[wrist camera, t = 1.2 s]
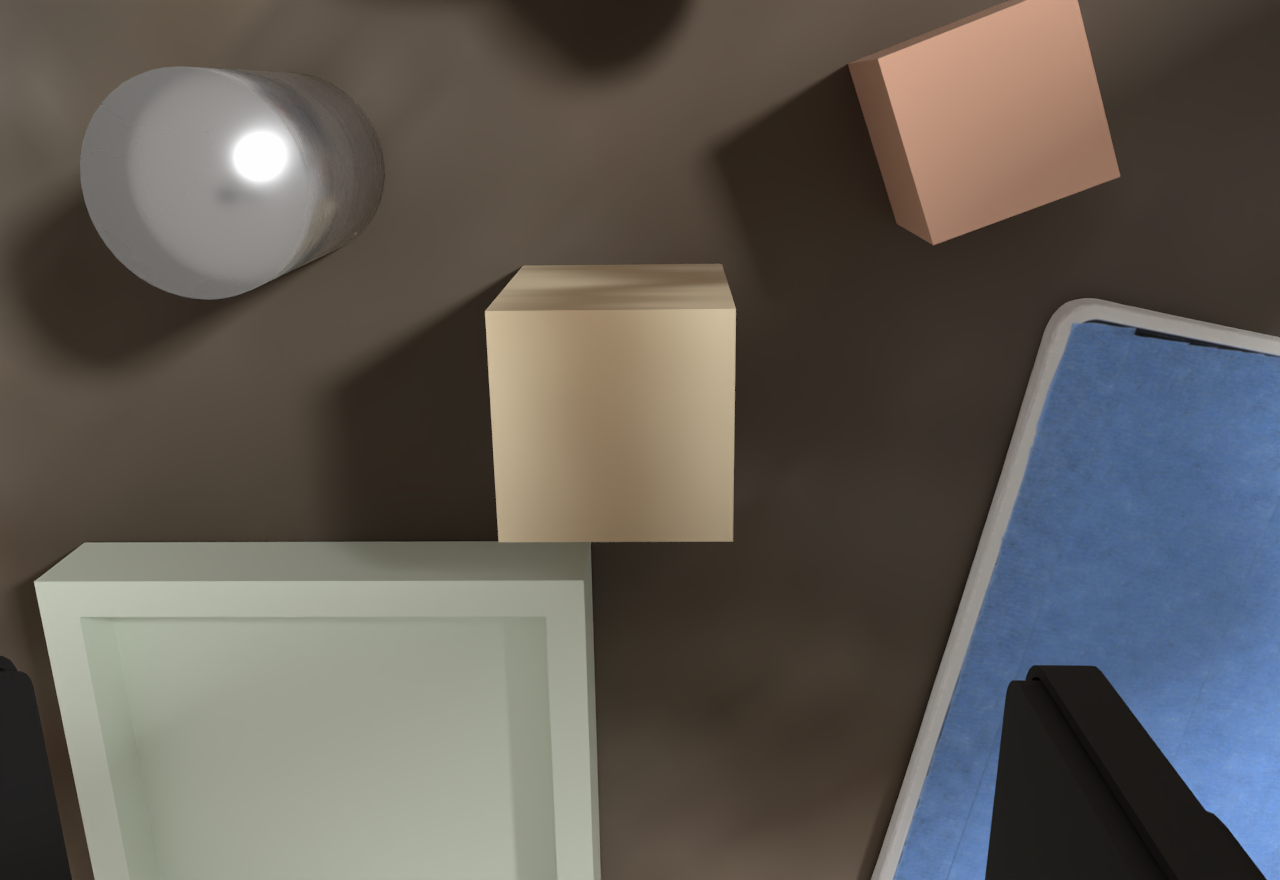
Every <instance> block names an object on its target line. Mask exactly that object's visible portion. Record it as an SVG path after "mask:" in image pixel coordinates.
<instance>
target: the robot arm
mask: <svg viewBox="0 0 1280 880" xmlns="http://www.w3.org/2000/svg"><path fill="white" fill-rule="evenodd" d="M0 880H72V878H71V873H70V868H69V863H68V858H67V853H66V848H65V843H64V838H63V833H62V828H61V823H60V818H59V813H58V808H57V803H56V798H55V793H54V788H53V783H52V778H51V773H50V768H49V763H48V758H47V753H46V748H45V743H44V738H43V733H42V728H41V723H40V718H39V713H38V708H37V703H36V698H35V693H34V688H33V685H32V682H31V679H30V678H29V677H28V675H27V674H25V673H23V672H21V671H17V670H16V667H15V666H14V665H13V663H12V662H11V661H10V660H9V659H7V658H5V657H3V656H0ZM985 880H1267V879H1266V878H1265V876H1264V875H1263V874H1262V872H1261V871H1260V870H1259V868H1258V867H1257V866H1256V865H1255V863H1254V862H1253V861H1252V859H1251V858H1250V857H1249V855H1248V854H1247V853H1246V851H1245V850H1244V849H1243V847H1242V846H1241V845H1240V843H1239V842H1238V841H1237V840H1236V838H1235V837H1234V836H1233V834H1232V833H1231V832H1230V830H1229V829H1228V828H1227V826H1226V825H1225V824H1224V823H1223V822H1222V821H1221V820H1220V819H1219V818H1218V817H1217V816H1216V815H1215V814H1214V813H1211V812H1208V811H1206V810H1205V809H1204V807H1203V806H1202V805H1201V803H1200V802H1199V801H1198V799H1197V798H1196V797H1195V795H1194V794H1193V793H1192V791H1191V790H1190V789H1189V787H1188V786H1187V785H1186V783H1185V782H1184V781H1183V779H1182V778H1181V777H1180V775H1179V774H1178V773H1177V771H1176V770H1175V769H1174V767H1173V766H1172V765H1171V763H1170V762H1169V761H1168V759H1167V758H1166V757H1165V755H1164V754H1163V753H1162V751H1161V750H1160V749H1159V747H1158V746H1157V745H1156V743H1155V742H1154V741H1153V739H1152V738H1151V737H1150V735H1149V734H1148V733H1147V731H1146V730H1145V729H1144V727H1143V726H1142V725H1141V723H1140V722H1139V721H1138V719H1137V718H1136V717H1135V715H1134V714H1133V713H1132V711H1131V710H1130V709H1129V707H1128V706H1127V705H1126V703H1125V702H1124V701H1123V699H1122V698H1121V697H1120V695H1119V694H1118V693H1117V691H1116V690H1115V689H1114V687H1113V686H1112V685H1111V683H1110V682H1109V681H1108V679H1107V678H1106V677H1105V675H1104V674H1103V673H1102V671H1101V670H1100V669H1098V668H1097V667H1096V666H1083V665H1033V666H1032V667H1031V668H1030V669H1029V671H1028V673H1027V675H1026V679H1025V680H1012V681H1011V682H1010V683H1009V685H1008V688H1007V692H1006V698H1005V707H1004V716H1003V724H1002V733H1001V742H1000V751H999V760H998V769H997V777H996V786H995V795H994V804H993V813H992V821H991V830H990V839H989V848H988V857H987V866H986V874H985Z"/></svg>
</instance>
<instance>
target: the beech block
mask: <svg viewBox="0 0 1280 880" xmlns="http://www.w3.org/2000/svg"><path fill="white" fill-rule="evenodd" d="M485 321H486V338H487V355H488V372H489V389H490V406H491V423H492V440H493V457H494V474H495V491H496V508H497V525H498V542H733V498H734V422H735V345H736V307H735V304H734V301H733V298H732V295H731V291H730V288H729V285H728V282H727V279H726V276H725V272H724V269H723V266H722V264H637V265H542V266H522V267H521V269H520V270H519V271H518V272H517V273H516V275H515V276H514V277H513V278H512V279H511V281H510V282H509V283H508V284H507V285H506V287H505V288H504V289H503V290H502V291H501V293H500V294H499V295H498V296H497V297H496V298H495V300H494V301H493V302H492V303H491V304H490V306H489V307H488V308H487V309H486V310H485Z"/></svg>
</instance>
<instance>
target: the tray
mask: <svg viewBox="0 0 1280 880" xmlns="http://www.w3.org/2000/svg"><path fill="white" fill-rule="evenodd" d="M34 585H35V590H36V595H37V599H38V604H39V609H40V614H41V619H42V624H43V629H44V634H45V639H46V644H47V648H48V653H49V658H50V663H51V668H52V673H53V678H54V683H55V688H56V693H57V697H58V702H59V707H60V712H61V717H62V722H63V727H64V732H65V737H66V742H67V746H68V751H69V756H70V761H71V766H72V771H73V776H74V781H75V786H76V791H77V795H78V800H79V805H80V810H81V815H82V820H83V825H84V830H85V835H86V840H87V844H88V849H89V854H90V859H91V864H92V869H93V874H94V879H95V880H601V865H600V833H599V800H598V767H597V734H596V701H595V668H594V635H593V603H592V570H591V542H498V541H427V542H108V543H83V544H82V545H81V546H79V547H78V548H77V549H75V550H74V551H73V552H72V553H70V554H69V555H68V556H66V557H65V558H64V559H63V560H61V561H60V562H59V563H57V564H56V565H55V566H53V567H52V568H51V569H50V570H48V571H47V572H46V573H44V574H43V575H42V576H41V577H39V578H38V579H37V580H35V581H34Z"/></svg>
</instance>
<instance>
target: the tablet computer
mask: <svg viewBox="0 0 1280 880" xmlns="http://www.w3.org/2000/svg"><path fill="white" fill-rule="evenodd" d="M1033 665H1083V666H1096V667H1097V668H1098V669H1100V670H1101V671H1102V673H1103V674H1104V675H1105V677H1106V678H1107V679H1108V681H1109V682H1110V683H1111V685H1112V686H1113V687H1114V689H1115V690H1116V691H1117V693H1118V694H1119V695H1120V697H1121V698H1122V699H1123V701H1124V702H1125V703H1126V705H1127V706H1128V707H1129V709H1130V710H1131V711H1132V713H1133V714H1134V715H1135V717H1136V718H1137V719H1138V721H1139V722H1140V723H1141V725H1142V726H1143V727H1144V729H1145V730H1146V731H1147V733H1148V734H1149V735H1150V737H1151V738H1152V739H1153V741H1154V742H1155V743H1156V745H1157V746H1158V747H1159V749H1160V750H1161V751H1162V753H1163V754H1164V755H1165V757H1166V758H1167V759H1168V761H1169V762H1170V763H1171V765H1172V766H1173V767H1174V769H1175V770H1176V771H1177V773H1178V774H1179V775H1180V777H1181V778H1182V779H1183V781H1184V782H1185V783H1186V785H1187V786H1188V787H1189V789H1190V790H1191V791H1192V793H1193V794H1194V795H1195V797H1196V798H1197V799H1198V801H1199V802H1200V803H1201V805H1202V806H1203V807H1204V809H1205V810H1206V811H1208V812H1211V813H1214V814H1215V815H1216V816H1217V817H1218V818H1219V819H1220V820H1221V821H1222V822H1223V823H1224V824H1225V825H1226V826H1227V828H1228V829H1229V830H1230V832H1231V833H1232V834H1233V836H1234V837H1235V838H1236V840H1237V841H1238V842H1239V843H1240V845H1241V846H1242V847H1243V849H1244V850H1245V851H1246V853H1247V854H1248V855H1249V857H1250V858H1251V859H1252V861H1253V862H1254V863H1255V865H1256V866H1257V867H1258V868H1259V870H1260V871H1261V872H1262V874H1263V875H1264V876H1265V878H1266V879H1267V880H1280V337H1276V336H1271V335H1267V334H1262V333H1257V332H1252V331H1247V330H1242V329H1237V328H1232V327H1227V326H1223V325H1218V324H1213V323H1208V322H1203V321H1198V320H1194V319H1189V318H1184V317H1179V316H1175V315H1170V314H1165V313H1161V312H1156V311H1152V310H1147V309H1143V308H1138V307H1133V306H1128V305H1123V304H1119V303H1115V302H1111V301H1105V300H1101V299H1095V298H1083V299H1076V300H1072V301H1069V302H1067V303H1065V304H1064V305H1062V306H1061V307H1059V308H1058V309H1057V311H1056V312H1055V313H1054V314H1053V315H1052V317H1051V318H1050V320H1049V322H1048V324H1047V326H1046V328H1045V330H1044V333H1043V337H1042V340H1041V343H1040V346H1039V350H1038V353H1037V356H1036V360H1035V363H1034V366H1033V370H1032V373H1031V376H1030V379H1029V382H1028V386H1027V389H1026V392H1025V395H1024V399H1023V402H1022V405H1021V409H1020V412H1019V416H1018V419H1017V422H1016V426H1015V429H1014V432H1013V436H1012V439H1011V442H1010V446H1009V449H1008V452H1007V455H1006V459H1005V462H1004V465H1003V469H1002V472H1001V475H1000V478H999V482H998V485H997V488H996V491H995V494H994V497H993V501H992V504H991V507H990V510H989V513H988V516H987V520H986V523H985V526H984V529H983V532H982V535H981V539H980V542H979V545H978V548H977V551H976V554H975V558H974V561H973V564H972V567H971V570H970V573H969V576H968V580H967V583H966V586H965V589H964V592H963V596H962V599H961V602H960V605H959V608H958V611H957V615H956V618H955V621H954V624H953V627H952V630H951V633H950V636H949V639H948V642H947V646H946V649H945V652H944V655H943V658H942V661H941V664H940V667H939V670H938V673H937V676H936V679H935V682H934V685H933V689H932V692H931V695H930V698H929V701H928V704H927V708H926V711H925V714H924V717H923V721H922V724H921V727H920V730H919V734H918V737H917V740H916V743H915V746H914V749H913V752H912V755H911V759H910V762H909V765H908V768H907V771H906V774H905V777H904V781H903V784H902V787H901V790H900V793H899V796H898V799H897V802H896V805H895V808H894V811H893V815H892V818H891V821H890V824H889V827H888V830H887V833H886V836H885V839H884V842H883V845H882V848H881V851H880V854H879V857H878V860H877V863H876V866H875V869H874V872H873V875H872V878H871V880H985V874H986V866H987V857H988V848H989V839H990V830H991V821H992V813H993V804H994V795H995V786H996V777H997V769H998V760H999V751H1000V742H1001V733H1002V724H1003V716H1004V707H1005V698H1006V692H1007V688H1008V685H1009V683H1010V682H1011V681H1012V680H1025V679H1026V675H1027V673H1028V671H1029V669H1030V668H1031V667H1032V666H1033Z"/></svg>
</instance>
